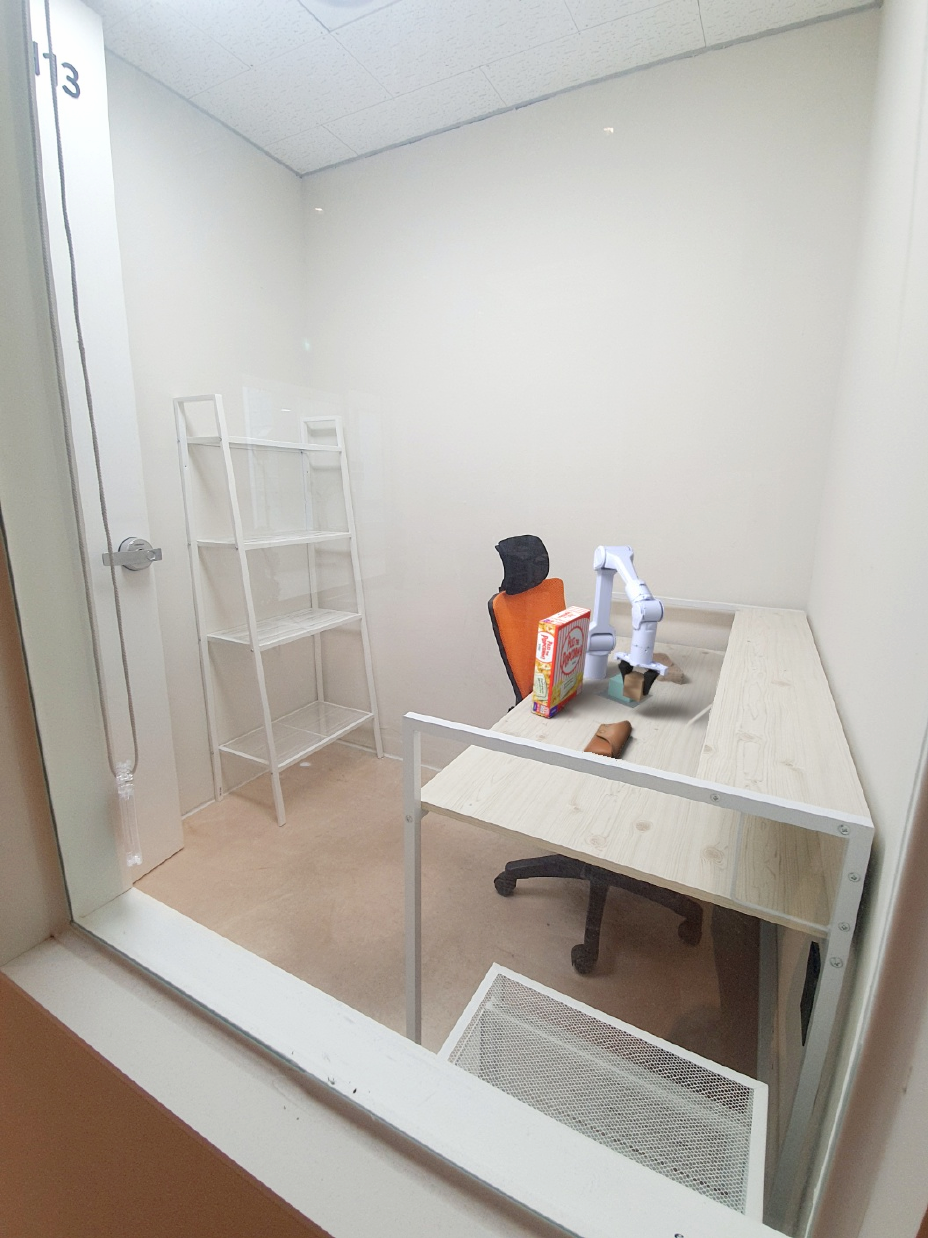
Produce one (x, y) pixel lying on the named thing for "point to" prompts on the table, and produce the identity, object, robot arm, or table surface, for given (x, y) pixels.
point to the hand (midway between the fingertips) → (635, 691)
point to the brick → (673, 671)
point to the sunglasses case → (609, 739)
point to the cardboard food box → (560, 660)
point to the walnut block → (634, 686)
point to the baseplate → (630, 704)
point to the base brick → (617, 688)
